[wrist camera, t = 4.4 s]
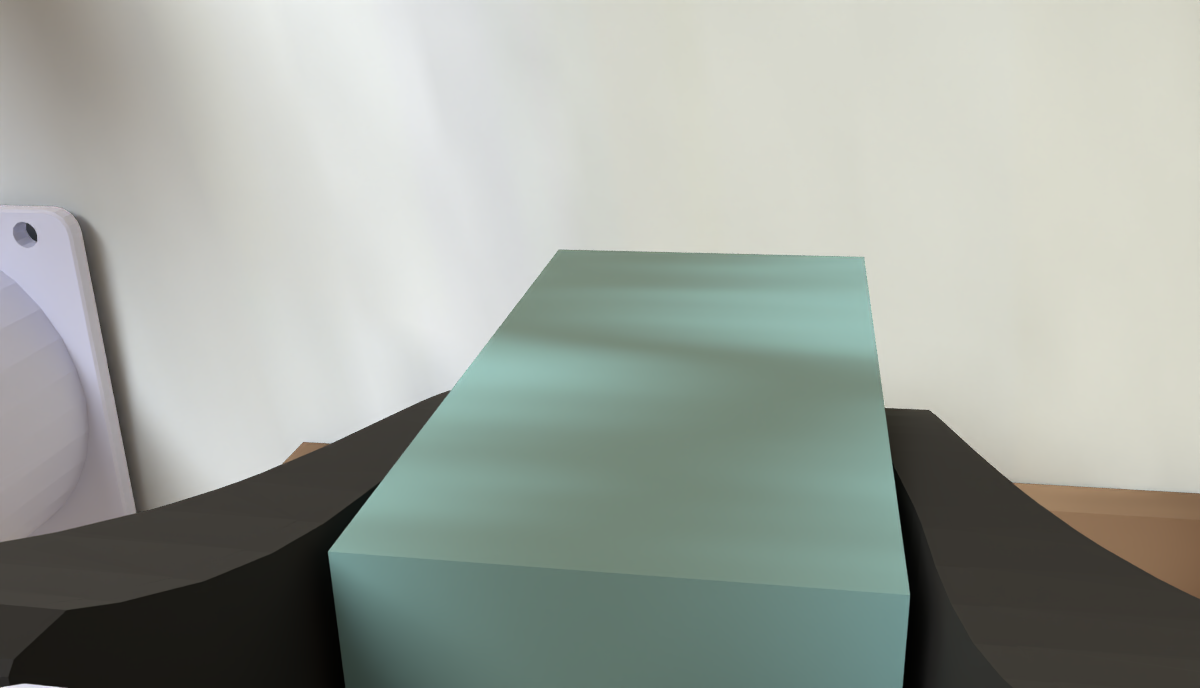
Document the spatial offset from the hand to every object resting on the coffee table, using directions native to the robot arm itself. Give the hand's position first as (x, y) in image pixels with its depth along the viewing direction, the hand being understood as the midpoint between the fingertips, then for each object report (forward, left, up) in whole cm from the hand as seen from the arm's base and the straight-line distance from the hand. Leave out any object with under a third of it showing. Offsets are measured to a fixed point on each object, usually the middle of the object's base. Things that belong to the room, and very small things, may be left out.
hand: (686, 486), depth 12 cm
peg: (0, 0, -2) cm, 2 cm away
